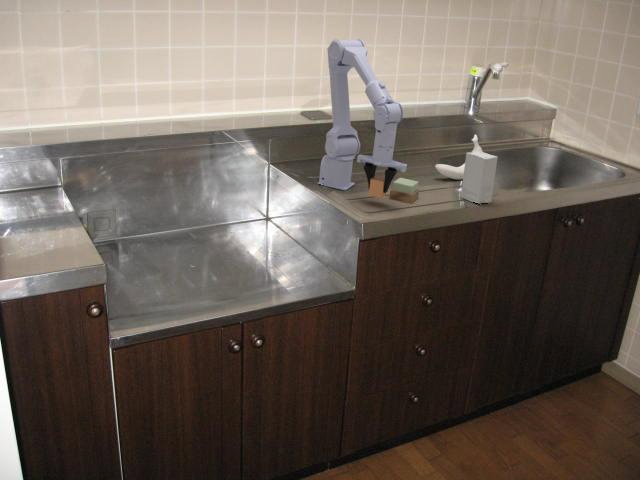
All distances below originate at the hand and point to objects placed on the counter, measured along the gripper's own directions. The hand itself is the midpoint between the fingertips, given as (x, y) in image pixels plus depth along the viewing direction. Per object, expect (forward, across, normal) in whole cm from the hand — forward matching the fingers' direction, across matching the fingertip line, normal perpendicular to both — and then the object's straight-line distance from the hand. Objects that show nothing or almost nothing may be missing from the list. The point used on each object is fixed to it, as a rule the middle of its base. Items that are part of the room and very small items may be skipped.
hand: (378, 190), depth 206 cm
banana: (+5, +14, +43) cm, 45 cm away
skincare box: (+4, +24, +24) cm, 34 cm away
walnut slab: (+5, +5, +11) cm, 13 cm away
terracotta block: (+2, 0, 0) cm, 2 cm away
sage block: (+2, +5, +11) cm, 12 cm away
